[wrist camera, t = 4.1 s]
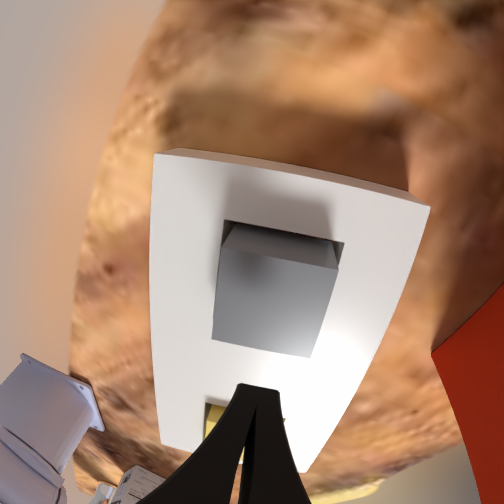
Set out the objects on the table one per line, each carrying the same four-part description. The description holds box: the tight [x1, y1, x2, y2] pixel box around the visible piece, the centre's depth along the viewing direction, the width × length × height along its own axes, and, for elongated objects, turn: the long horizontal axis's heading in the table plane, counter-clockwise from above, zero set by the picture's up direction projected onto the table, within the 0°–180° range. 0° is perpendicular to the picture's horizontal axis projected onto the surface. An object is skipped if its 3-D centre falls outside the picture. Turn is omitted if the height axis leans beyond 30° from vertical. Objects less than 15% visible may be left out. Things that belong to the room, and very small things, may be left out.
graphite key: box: [211, 223, 339, 358], centre depth 14 cm, size 4×4×3 cm
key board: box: [149, 148, 431, 473], centre depth 18 cm, size 12×22×3 cm, turn 172°
